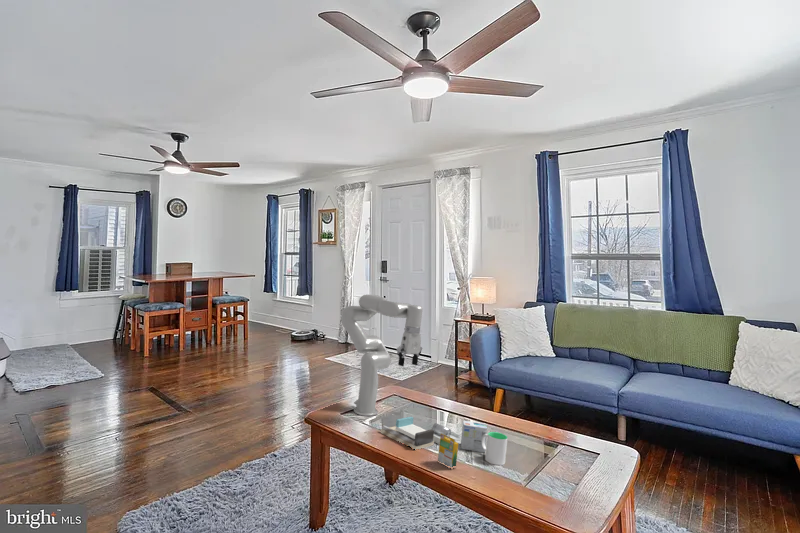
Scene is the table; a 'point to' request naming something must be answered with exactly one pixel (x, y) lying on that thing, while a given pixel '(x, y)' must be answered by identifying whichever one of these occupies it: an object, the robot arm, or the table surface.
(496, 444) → the mug
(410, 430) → the toy bed
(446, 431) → the loose roller
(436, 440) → the roller rack
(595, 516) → the table surface
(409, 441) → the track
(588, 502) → the table surface
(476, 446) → the light bulb box
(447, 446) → the crayon box
